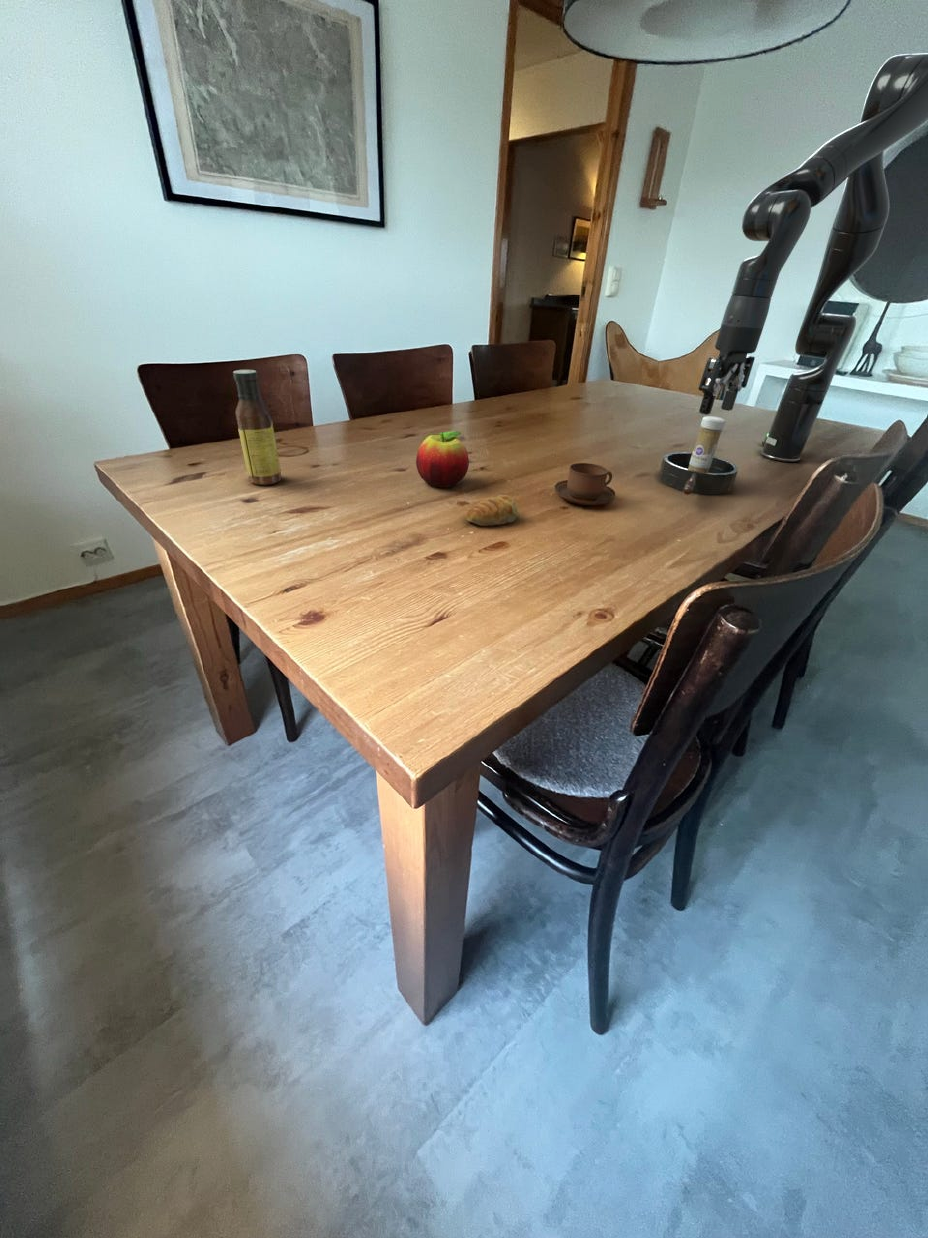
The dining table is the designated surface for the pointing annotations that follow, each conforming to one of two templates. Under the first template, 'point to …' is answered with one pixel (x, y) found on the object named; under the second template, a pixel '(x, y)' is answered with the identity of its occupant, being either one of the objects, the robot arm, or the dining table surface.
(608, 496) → the cup and saucer
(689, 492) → the pan handle
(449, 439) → the fruit
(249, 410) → the sauce bottle
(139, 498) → the dining table surface
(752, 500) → the dining table surface
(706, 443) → the sprinkles bottle
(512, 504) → the pastry
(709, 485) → the pan
